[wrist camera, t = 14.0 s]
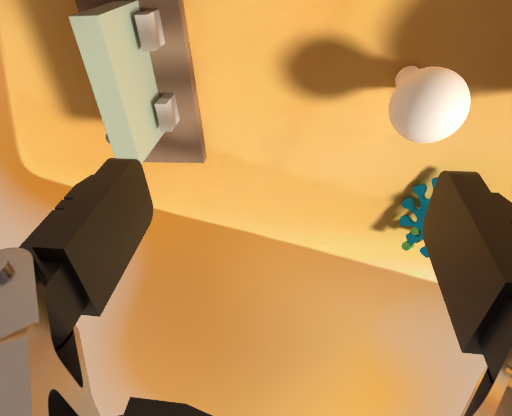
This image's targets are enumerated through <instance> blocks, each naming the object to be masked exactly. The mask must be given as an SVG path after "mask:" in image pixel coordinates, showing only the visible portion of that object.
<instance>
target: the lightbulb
mask: <svg viewBox="0 0 512 416" xmlns="http://www.w3.org/2000/svg"><path fill="white" fill-rule="evenodd" d="M395 84H396V88H395V89H394V91H393V93H392V96H391V98H390V103H389V117H390V121H391V123H392V125H393V127H394V129H395V130H396V131H397V132H398V133H399V134H400V135H401V136H403V137H404V138H406V139H408V140H410V141H413V142H417V143H432V142H436V141H440V140H442V139H444V138H446V137H448V136H450V135H451V134H453V133H454V132H455V131H456V130H457V129H458V128H459V127H460V126H461V125H462V124H463V123H464V121H465V119H466V117H467V115H468V113H469V110H470V102H471V98H470V92H469V89H468V86H467V84H466V82H465V81H464V79H463V78H462V77H461V76H460V75H458V74H457V73H456V72H454V71H452V70H450V69H447V68H443V67H426V68H422V69H419V68H417V67H415V66H407V67H404V68H403V69H401V70H400V71H399V72H398V74H397V75H396V78H395Z"/></svg>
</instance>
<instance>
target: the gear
mask: <svg viewBox="0 0 512 416" xmlns="http://www.w3.org/2000/svg"><path fill="white" fill-rule="evenodd" d="M437 179H438V177H436V178H433V180H432V185H433V191H434V188H435V185H436V182H437ZM426 190H427V187H426V185H425V184H421V185H417V186H415V187H413V191H414V193H416V194H417V196H418V197H419V199H420V205H421V207H420V209H417V208H416V207H415V203H414V200H413V199H412V198H411V197H409V198H406V199H405V200H404V201H403V202H402V204H401V205H402V207H404V208H406V209H409V210H411V211H412V212H413V213H414V214H415V216H416V217H417V221H416V222H414V221H413V220H412V219H411V218H410V216H408V215H404V216H401V219H400V225H401V226H414V227H412V228H411V230H410V233H409V234H407V235H406V238H407V241H406V242H404V243H403V244H402V248H403V249H404V250H409V249H411V248H413V247H414V243H418V242H420V241H422V240H424V239H423V221H424V217H425V214H426V211H427V208H428V205H429V202H430V199H431V198H430V199H427V198H426V197H425V192H426ZM432 194H433V193H432ZM431 197H432V196H431ZM420 252H421V253H422V254H423V255H424V256H425V257H426V258H428V257H429V254H428V251H427V248H426V246H424V247H423V248H421V249H420Z"/></svg>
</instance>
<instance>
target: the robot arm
mask: <svg viewBox="0 0 512 416" xmlns="http://www.w3.org/2000/svg"><path fill="white" fill-rule="evenodd" d="M152 216H153V204H152V200H151V196H150V193H149V189H148V185H147V182H146V178H145V175H144V171H143V168H142V165H141V163H140V161H139V160H137V159H123V158H109V159H108V160H107V161H106V162H105V163H104V164H103V165H102V166H101V167H100V169H99V170H98V171H97V172H96V173H95V174H94V175H91V176H89V177H87V178H86V179H84V180H83V181H81V182H79V183H78V184H76V185H75V186H74V187H73V188H72V190H70V192H69V193H68V194H67V195H66V196H65V197H64V200H61V201H60V203H59V204H58V205H57V206H56V207H55V210H52V211H51V212H50V214H49V215H48V216H47V217H46V218H45V219H44V220H43V221H42V223H40V225H39V226H38V227H37V228H36V229H35V230H34V231H33V232H32V233H31V234H30V236H29V237H28V238H27V239H26V240H25V241H24V242H23V243H22V244H21V246H20V247H19V248H6V249H1V250H0V416H100V415H99V412H98V410H97V408H96V406H95V404H94V401H93V398H92V394H91V390H90V385H89V380H88V375H87V370H86V365H85V360H84V355H83V350H82V345H81V340H80V335H79V330H78V328H77V326H76V325H75V324H76V322H77V321H78V319H79V317H80V316H81V315H90V316H100V315H101V313H102V312H103V310H104V308H105V306H106V304H107V302H108V301H109V298H110V297H111V295H112V293H113V291H114V290H115V288H116V286H117V284H118V282H119V280H120V279H121V277H122V275H123V273H124V271H125V269H126V267H127V265H128V264H129V262H130V260H131V258H132V256H133V255H134V253H135V251H136V249H137V247H138V245H139V244H140V242H141V240H142V238H143V236H144V234H145V233H146V230H147V229H148V227H149V225H150V223H151V220H152ZM423 239H424V242H425V245H426V248H427V251H428V254H429V257H430V260H431V263H432V266H433V269H434V272H435V275H436V278H437V281H438V284H439V286H440V289H441V292H442V295H443V298H444V301H445V304H446V307H447V310H448V313H449V316H450V318H451V322H452V324H453V328H454V330H455V333H456V336H457V339H458V342H459V345H460V348H461V351H462V352H463V353H472V354H482V355H484V358H485V361H486V363H487V367H486V369H485V370H484V371H483V373H482V375H481V377H480V379H479V381H478V383H477V385H476V387H475V389H474V391H473V393H472V395H471V397H470V399H469V401H468V403H467V405H466V407H465V409H464V411H463V413H462V415H461V416H512V203H511V202H510V201H509V200H507V199H506V198H505V197H503V196H502V195H500V194H499V193H491V191H490V190H489V188H488V187H487V185H486V184H485V182H484V181H483V179H482V178H481V176H480V175H479V174H478V173H477V172H462V171H443V172H441V173H440V175H439V177H438V179H437V182H436V185H435V188H434V191H433V194H432V197H431V199H430V202H429V205H428V208H427V211H426V214H425V217H424V221H423ZM119 416H212V415H209V414H207V413H205V412H203V411H201V410H198V409H196V408H194V407H192V406H189V405H187V404H183V403H174V402H166V401H158V400H150V399H142V398H133V397H130V399H129V402H128V405H127V407H126V410H125V412H124V415H119Z"/></svg>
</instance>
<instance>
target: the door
mask: <svg viewBox="0 0 512 416" xmlns="http://www.w3.org/2000/svg"><path fill="white" fill-rule="evenodd" d="M138 13H140V7H139V3H138V0H133V1H113V2H110V3H107V4H104V5H101V6H98V7H95V8H92V9H89V10H86V11H83V12H81V13H78V14H75V15H72V16H69V20H70V23H71V26H72V29H73V32H74V35H75V38H76V41H77V44H78V47H79V50H80V53H81V56H82V59H83V62H84V65H85V68H86V71H87V75H88V78H89V81H90V84H91V87H92V90H93V93H94V96H95V99H96V102H97V105H98V108H99V111H100V114H101V117H102V120H103V123H104V126H105V129H106V132H107V134H106V140H107V141H108V142H109V143H110V144H111V147H112V150H113V153H114V156H115V158H123V159H137V160H139V161H140V163H141V164H142V163H143V162H144V160H145V159H146V157H147V156H148V155H149V153H150V152H151V150H152V149H153V148H154V146H155V145H156V144H157V142H158V141H159V139H160V138H161V137H162V135H163V134H164V133H165V132H161V130H160V126H159V121H158V117H157V112H156V108H155V103H156V102H157V101H158V100H159V99H160V98H159V94H158V90H157V85H156V81H155V76H154V71H153V67H152V62H151V58H150V53H149V51H146V52H143V51H142V47H141V42H140V38H139V34H138V29H137V25H136V21H135V16H134V15H136V14H138Z"/></svg>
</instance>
